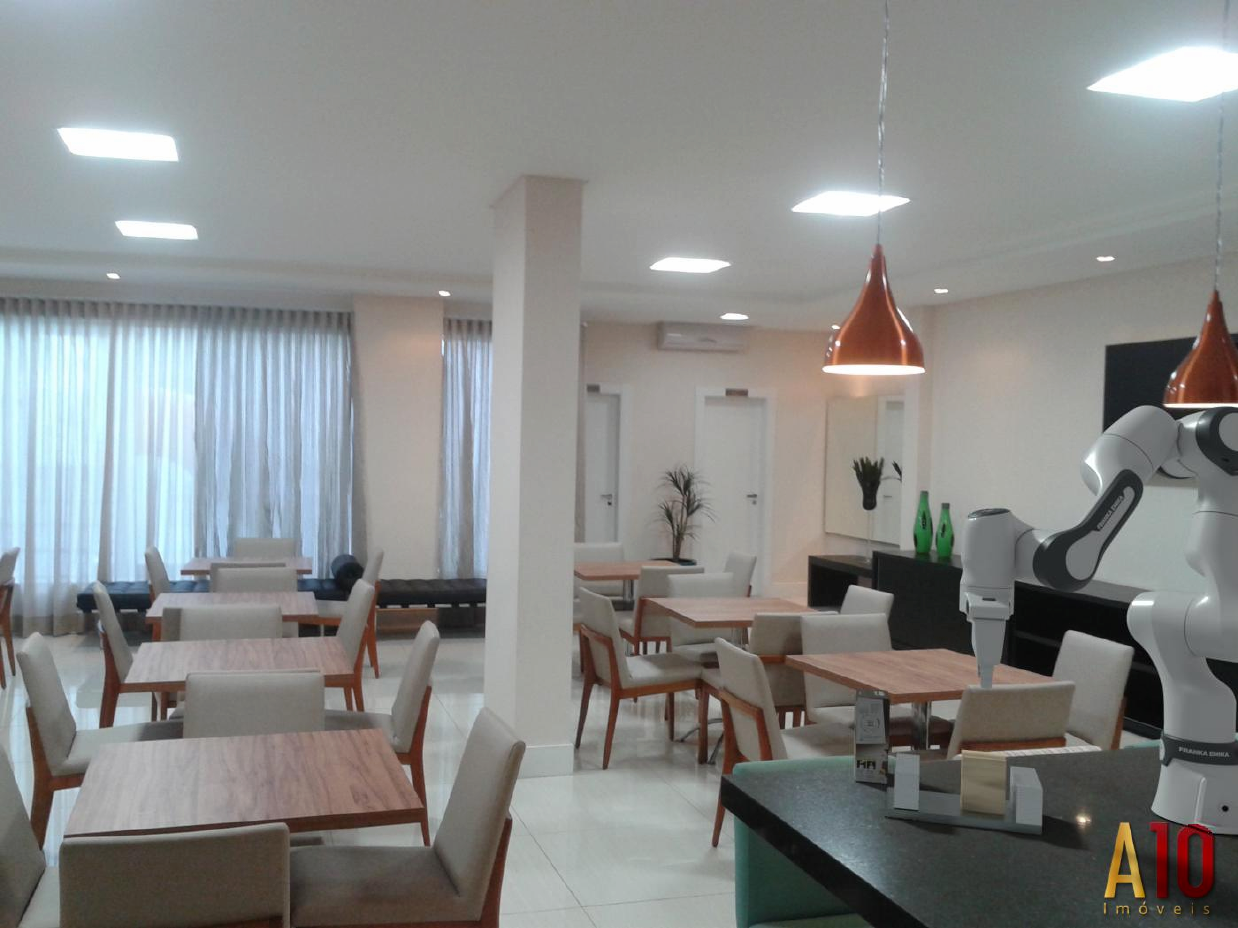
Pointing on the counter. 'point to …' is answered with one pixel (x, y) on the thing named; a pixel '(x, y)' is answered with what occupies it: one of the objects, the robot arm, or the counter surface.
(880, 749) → the coffee box
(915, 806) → the block
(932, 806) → the vise base
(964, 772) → the maple block
